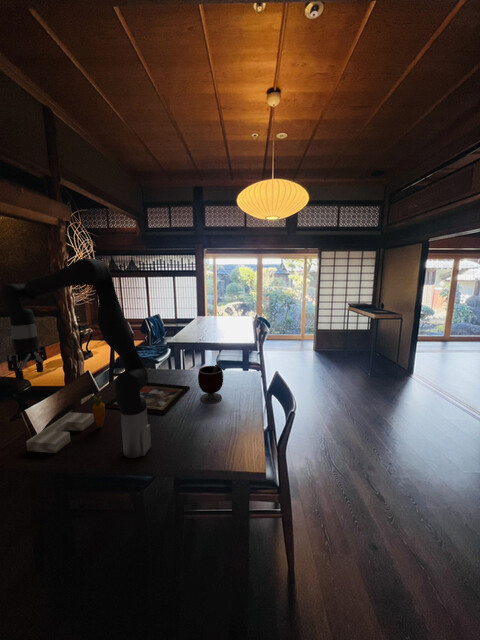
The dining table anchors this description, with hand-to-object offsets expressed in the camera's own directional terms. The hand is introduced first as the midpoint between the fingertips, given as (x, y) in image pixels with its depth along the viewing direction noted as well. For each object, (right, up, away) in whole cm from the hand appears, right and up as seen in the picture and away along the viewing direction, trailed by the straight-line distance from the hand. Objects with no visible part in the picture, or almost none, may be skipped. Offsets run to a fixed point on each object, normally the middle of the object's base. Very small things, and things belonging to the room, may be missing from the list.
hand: (30, 375), depth 101 cm
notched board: (+7, -27, +9) cm, 30 cm away
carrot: (+20, -27, +15) cm, 36 cm away
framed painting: (+32, -23, +44) cm, 59 cm away
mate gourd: (+67, -22, +43) cm, 83 cm away
